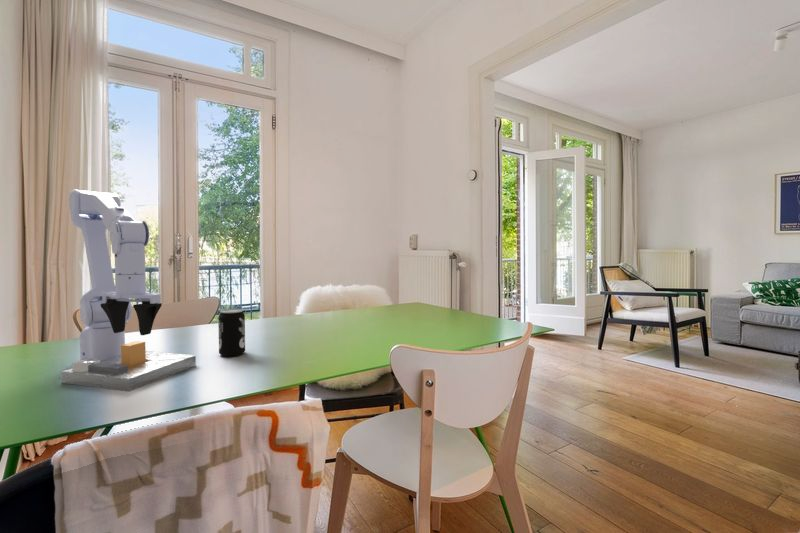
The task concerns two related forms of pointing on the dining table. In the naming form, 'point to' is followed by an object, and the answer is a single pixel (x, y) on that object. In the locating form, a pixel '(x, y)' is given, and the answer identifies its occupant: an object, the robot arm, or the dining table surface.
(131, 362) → the orange rectangular block
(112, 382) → the gray slotted plate
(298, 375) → the dining table surface
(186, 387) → the dining table surface
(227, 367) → the dining table surface
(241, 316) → the beverage can
